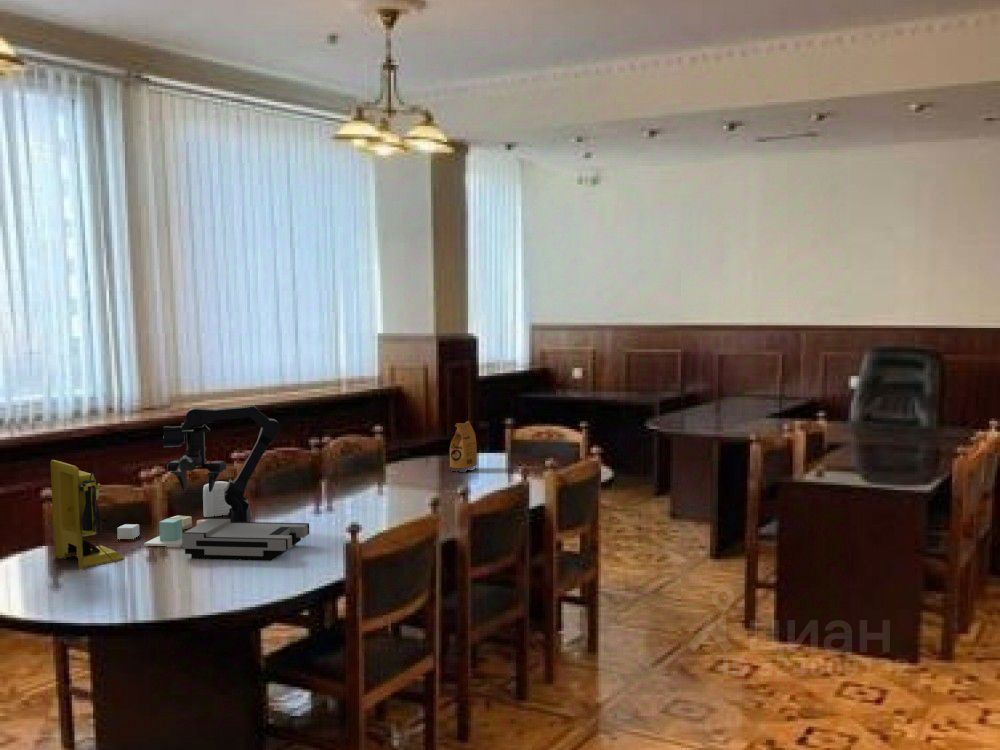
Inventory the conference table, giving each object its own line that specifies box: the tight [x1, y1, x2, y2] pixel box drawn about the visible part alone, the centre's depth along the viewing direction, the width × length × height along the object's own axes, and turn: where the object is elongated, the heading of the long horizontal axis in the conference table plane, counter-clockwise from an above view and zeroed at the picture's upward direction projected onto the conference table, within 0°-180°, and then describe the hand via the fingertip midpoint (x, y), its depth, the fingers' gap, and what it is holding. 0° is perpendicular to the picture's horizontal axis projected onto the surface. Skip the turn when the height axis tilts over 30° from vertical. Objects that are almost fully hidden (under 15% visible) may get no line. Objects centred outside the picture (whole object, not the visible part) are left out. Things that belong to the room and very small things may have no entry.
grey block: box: [116, 523, 140, 541], centre depth 308 cm, size 5×5×4 cm
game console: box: [181, 517, 310, 562], centre depth 288 cm, size 21×32×8 cm, turn 83°
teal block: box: [158, 518, 183, 541], centre depth 301 cm, size 5×5×6 cm
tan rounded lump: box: [196, 518, 209, 526], centre depth 313 cm, size 5×5×4 cm
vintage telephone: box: [49, 459, 125, 570], centre depth 279 cm, size 31×14×30 cm, turn 45°
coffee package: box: [449, 420, 478, 468], centre depth 424 cm, size 10×12×22 cm
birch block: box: [168, 515, 193, 530], centre depth 320 cm, size 6×4×4 cm, turn 67°
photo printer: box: [202, 480, 232, 518], centre depth 338 cm, size 10×4×12 cm, turn 123°
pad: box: [143, 535, 182, 548], centre depth 301 cm, size 12×12×1 cm
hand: (197, 491), depth 317 cm, fingers open, 9 cm apart
